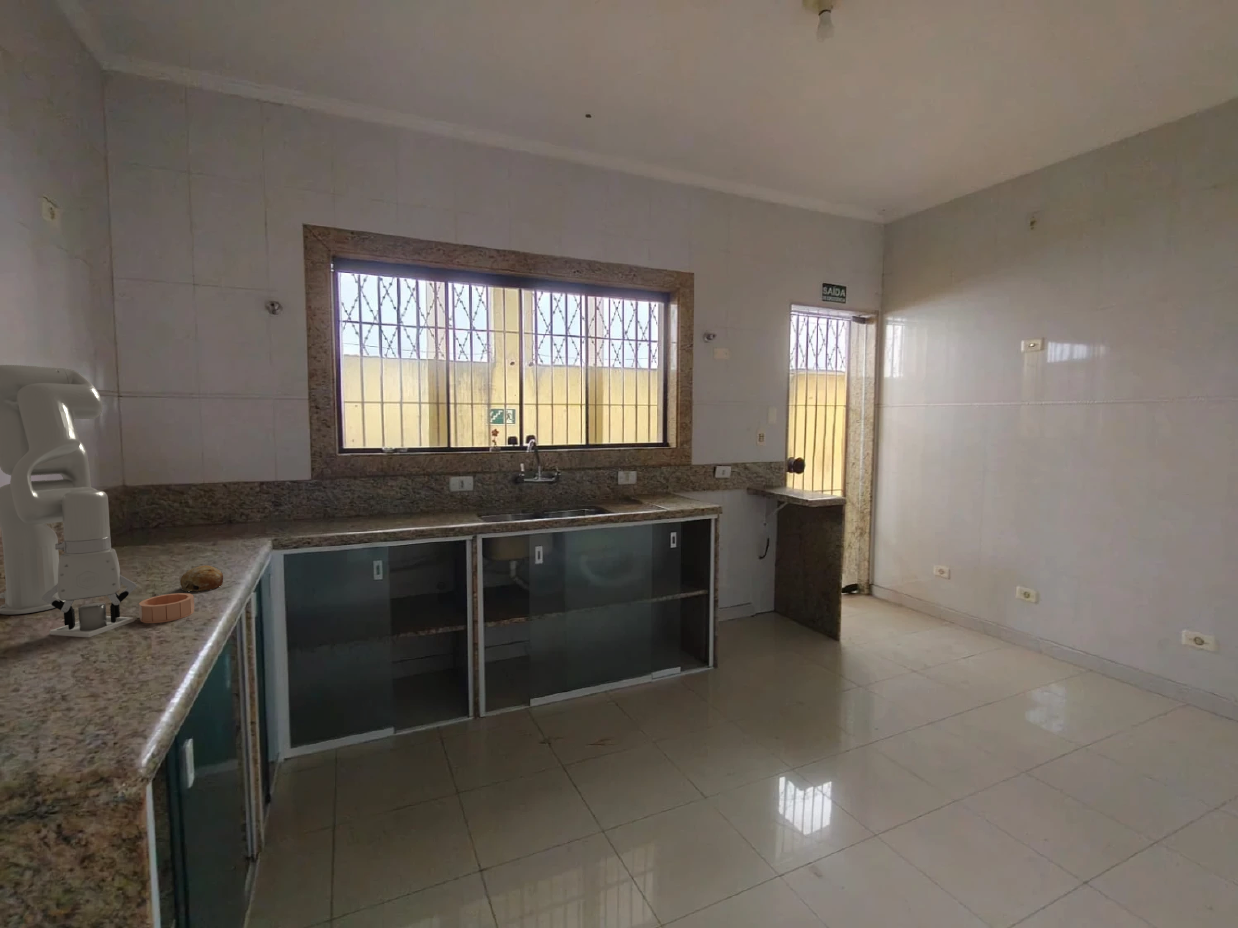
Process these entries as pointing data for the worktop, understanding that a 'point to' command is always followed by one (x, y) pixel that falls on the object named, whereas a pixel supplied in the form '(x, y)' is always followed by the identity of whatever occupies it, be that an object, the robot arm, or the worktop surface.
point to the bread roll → (201, 579)
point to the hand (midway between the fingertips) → (93, 623)
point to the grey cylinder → (92, 616)
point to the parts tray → (78, 633)
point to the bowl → (166, 607)
